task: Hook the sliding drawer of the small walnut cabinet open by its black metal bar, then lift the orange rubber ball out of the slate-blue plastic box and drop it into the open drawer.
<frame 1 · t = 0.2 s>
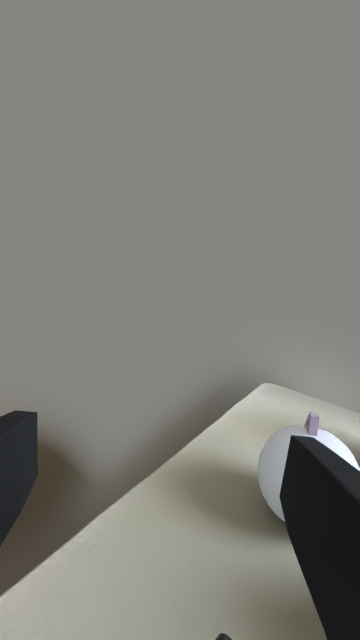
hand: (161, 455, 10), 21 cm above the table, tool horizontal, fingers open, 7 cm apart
ornament: (296, 517, 38), on the table
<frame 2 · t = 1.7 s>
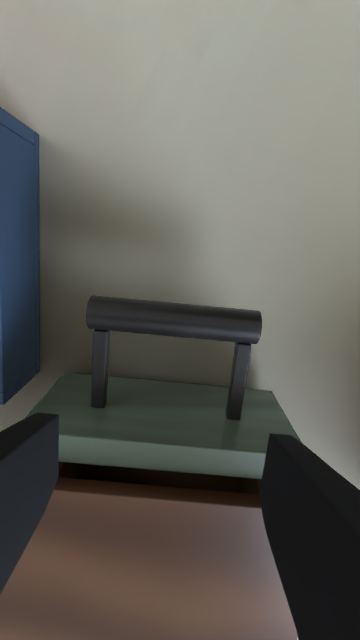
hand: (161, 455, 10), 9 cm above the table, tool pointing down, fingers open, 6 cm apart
cabinet: (157, 500, 21), on the table
drawer: (159, 477, 16), point 4 cm above the table, slide at 0.5 cm
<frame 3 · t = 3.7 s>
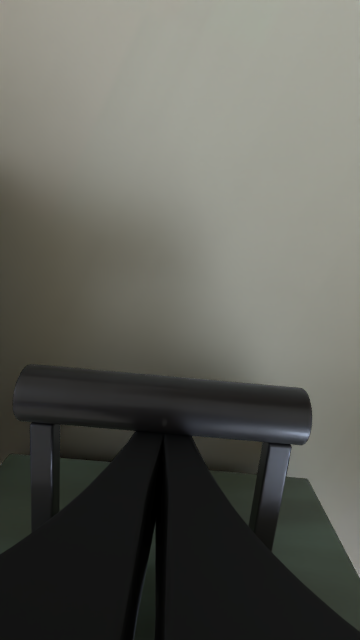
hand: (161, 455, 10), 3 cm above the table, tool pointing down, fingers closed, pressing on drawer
drawer: (144, 626, 11), point 4 cm above the table, slide at 1.7 cm, touching gripper
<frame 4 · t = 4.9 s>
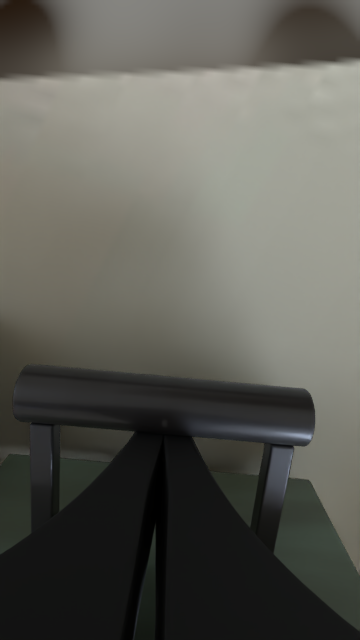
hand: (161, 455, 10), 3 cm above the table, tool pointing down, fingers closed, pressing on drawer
drawer: (145, 628, 11), point 4 cm above the table, slide at 6.9 cm, touching gripper
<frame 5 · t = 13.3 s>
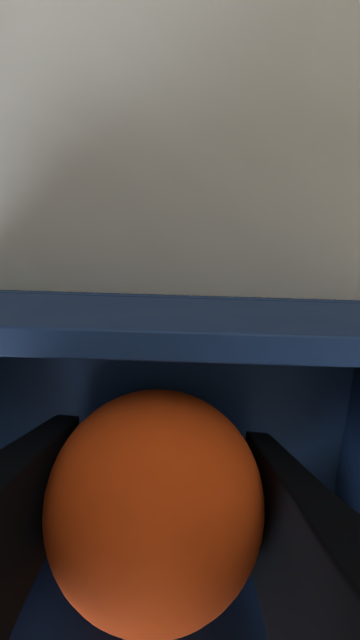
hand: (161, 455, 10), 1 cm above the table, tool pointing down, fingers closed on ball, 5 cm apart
ball: (156, 496, 8), point 3 cm above the table, touching gripper, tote
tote: (164, 427, 11), on the table
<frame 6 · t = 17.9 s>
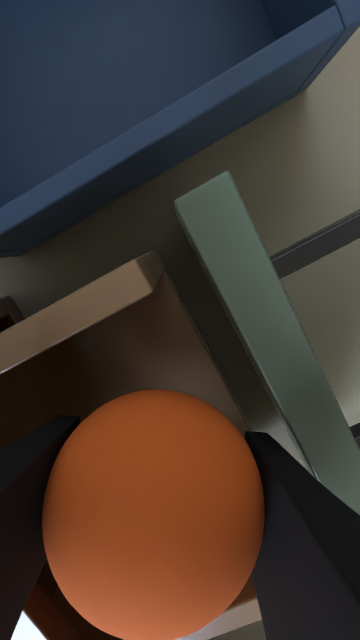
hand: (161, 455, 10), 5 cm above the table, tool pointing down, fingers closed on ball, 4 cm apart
ball: (156, 496, 8), point 7 cm above the table, touching gripper
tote: (93, 57, 12), on the table
drawer: (188, 415, 11), point 4 cm above the table, slide at 7.3 cm
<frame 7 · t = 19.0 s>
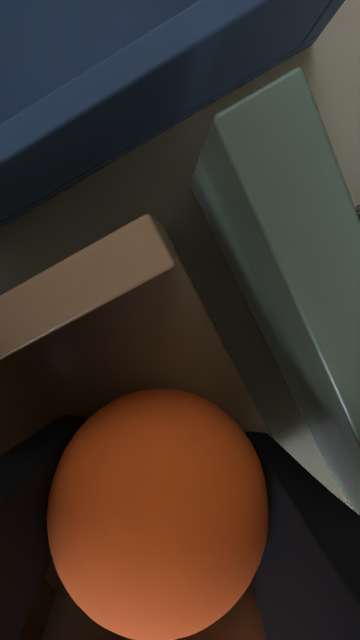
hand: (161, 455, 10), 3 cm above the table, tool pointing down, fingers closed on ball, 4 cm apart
ball: (160, 496, 8), point 4 cm above the table, touching drawer, gripper
drawer: (207, 432, 8), point 4 cm above the table, slide at 8.5 cm, touching ball, gripper
when the fingers open (5 cm above the table, at t = 20.3 s): ball drops 2 cm and tips over, resting on drawer.
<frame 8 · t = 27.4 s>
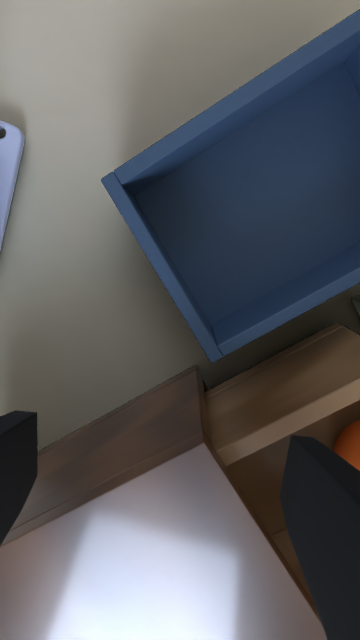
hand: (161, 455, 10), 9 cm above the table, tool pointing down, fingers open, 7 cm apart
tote: (268, 206, 17), on the table
cabinet: (152, 497, 21), on the table
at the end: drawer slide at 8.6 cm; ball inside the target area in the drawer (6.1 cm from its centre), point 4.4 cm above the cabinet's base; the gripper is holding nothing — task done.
